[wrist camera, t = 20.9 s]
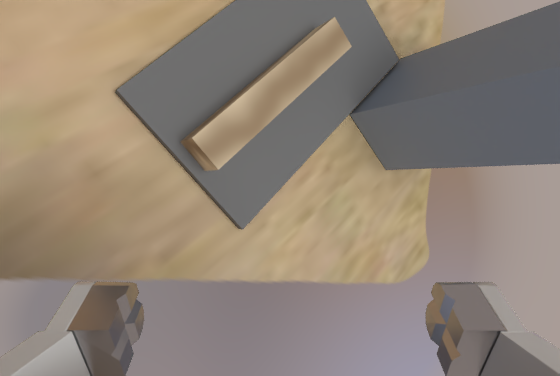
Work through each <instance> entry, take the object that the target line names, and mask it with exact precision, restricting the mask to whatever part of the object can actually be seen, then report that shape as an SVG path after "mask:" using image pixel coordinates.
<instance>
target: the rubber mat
mask: <svg viewBox="0 0 560 376" xmlns="http://www.w3.org/2000/svg"><path fill="white" fill-rule="evenodd" d="M333 17H335V18H336V20H337V22H338V23H339V25H340V27H341V29H342V30H343V32H344V34H345V35H346V37H347V39H348V41H349V42H350V44H351V46H352V47H351V48H350V49H349V50H348V51H347V52H346V53H344V54H343V55H342V56H341V57H340V58H339V59H338V60H337V61H336V62H335V63H334V64H333V65H331V66H330V67H329V68H328V69H327V70H326V71H325V72H324V73H323V74H322V75H321V76H320V77H318V78H317V79H316V80H315V81H314V82H313V83H312V84H311V85H310V86H309V87H308V88H307V89H305V90H304V91H303V92H302V93H301V94H300V95H299V96H298V97H297V98H296V99H295V100H294V101H292V102H291V103H290V104H289V105H288V106H287V107H286V108H285V109H284V110H283V111H282V112H281V113H280V114H278V115H277V116H276V117H275V118H274V119H273V120H272V121H271V122H270V123H269V124H268V125H267V126H265V127H264V128H263V129H262V130H261V131H260V132H259V133H258V134H257V135H256V136H255V137H254V138H252V139H251V140H250V141H249V142H248V143H247V144H246V145H245V146H244V147H243V148H242V149H241V150H239V151H238V152H237V153H236V154H235V155H234V156H233V157H232V158H231V159H230V160H229V161H228V162H226V163H225V164H224V165H223V166H222V167H221V168H220V169H219V170H211V171H204V169H203V168H202V167H201V166H200V165H199V163H198V162H197V161H196V160H195V159H194V158H193V156H192V155H191V154H190V153H189V152H188V150H187V149H186V148H185V147H184V146H183V145H182V143H181V141H182V140H183V139H184V138H185V137H187V136H188V135H189V134H190V133H191V132H192V131H194V130H195V129H196V128H197V127H198V126H200V125H201V124H202V123H203V122H204V121H206V120H207V119H208V118H209V117H210V116H211V115H213V114H214V113H215V112H216V111H217V110H219V109H220V108H221V107H222V106H223V105H225V104H226V103H227V102H228V101H229V100H231V99H232V98H233V97H234V96H235V95H236V94H238V93H239V92H240V91H241V90H242V89H244V88H245V87H246V86H247V85H248V84H250V83H251V82H252V81H253V80H254V79H255V78H257V77H258V76H259V75H260V74H261V73H263V72H264V71H265V70H266V69H267V68H269V67H270V66H271V65H272V64H273V63H274V62H276V61H277V60H278V59H279V58H280V57H282V56H283V55H284V54H285V53H286V52H288V51H289V50H290V49H291V48H292V47H293V46H295V45H296V44H297V43H298V42H299V41H301V40H302V39H303V38H304V37H305V36H307V35H308V34H309V33H310V32H311V31H312V30H314V29H315V28H317V27H318V26H320V25H322V24H323V23H325V22H327V21H328V20H330V19H332V18H333ZM398 60H399V58H398V56H397V55H396V53H395V51H394V49H393V48H392V46H391V44H390V42H389V40H388V39H387V37H386V35H385V33H384V32H383V30H382V28H381V26H380V24H379V23H378V21H377V19H376V17H375V15H374V14H373V12H372V10H371V8H370V7H369V5H368V3H367V1H366V0H235V1H234V2H233V3H231V4H230V5H229V6H227V7H226V8H225V9H223V10H222V11H221V12H219V13H218V14H217V15H215V16H214V17H213V18H211V19H210V20H209V21H207V22H206V23H205V24H203V25H202V26H201V27H199V28H198V29H197V30H195V31H194V32H193V33H191V34H190V35H189V36H187V37H186V38H185V39H183V40H182V41H181V42H179V43H178V44H177V45H175V46H174V47H173V48H171V49H170V50H169V51H168V52H166V53H165V54H164V55H162V56H161V57H160V58H158V59H157V60H156V61H154V62H153V63H152V64H150V65H149V66H148V67H146V68H145V69H144V70H142V71H141V72H140V73H138V74H137V75H136V76H134V77H133V78H132V79H130V80H129V81H128V82H126V83H125V84H124V85H122V86H121V87H120V88H118V89H117V90H116V92H115V93H116V94H117V95H118V96H119V97H120V98H121V99H122V100H123V101H124V103H125V104H126V105H127V106H128V107H129V108H130V109H131V110H132V111H133V112H134V114H135V115H136V116H137V117H138V118H139V119H140V120H141V121H142V122H143V124H144V125H145V126H146V127H147V128H148V129H149V130H150V131H151V132H152V133H153V135H154V136H155V137H156V138H157V139H158V140H159V141H160V142H161V143H162V144H163V146H164V147H165V148H166V149H167V150H168V151H169V152H170V153H171V154H172V156H173V157H174V158H175V159H176V160H177V161H178V162H179V163H180V164H181V165H182V167H183V168H184V169H185V170H186V171H187V172H188V173H189V174H190V175H191V176H192V178H193V179H194V180H195V181H196V182H197V183H198V184H199V185H200V186H201V187H202V189H203V190H204V191H205V192H206V193H207V194H208V195H209V196H210V197H211V199H212V200H213V201H214V202H215V203H216V204H217V205H218V206H219V207H220V208H221V210H222V211H223V212H224V213H225V214H226V215H227V216H228V217H229V218H230V219H231V221H232V222H233V223H234V224H235V225H236V226H237V227H238V228H239V229H244V228H245V226H246V225H247V224H248V223H249V222H250V221H251V220H252V219H253V218H254V217H255V216H256V215H257V213H258V212H259V211H260V210H261V209H262V208H263V207H264V206H265V205H266V204H267V203H268V202H269V200H270V199H271V198H272V197H273V196H274V195H275V194H276V193H277V192H278V191H279V190H280V189H281V187H282V186H283V185H284V184H285V183H286V182H287V181H288V180H289V179H290V178H291V177H292V175H293V174H294V173H295V172H296V171H297V170H298V169H299V168H300V167H301V166H302V165H303V164H304V162H305V161H306V160H307V159H308V158H309V157H310V156H311V155H312V154H313V153H314V152H315V151H316V149H317V148H318V147H319V146H320V145H321V144H322V143H323V142H324V141H325V140H326V139H327V138H328V136H329V135H330V134H331V133H332V132H333V131H334V130H335V129H336V128H337V127H338V126H339V124H340V123H341V122H342V121H343V120H344V119H345V118H346V117H347V116H348V115H349V114H350V113H351V111H352V110H353V109H354V108H355V107H356V106H357V105H358V104H359V103H360V102H361V101H362V100H363V98H364V97H365V96H366V95H367V94H368V93H369V92H370V91H371V90H372V89H373V88H374V87H375V85H376V84H377V83H378V82H379V81H380V80H381V79H382V78H383V77H384V76H385V75H386V73H387V72H388V71H389V70H390V69H391V68H392V67H393V66H394V65H395V64H396V63H397V62H398Z"/></svg>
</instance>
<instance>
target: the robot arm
mask: <svg viewBox="0 0 560 376" xmlns="http://www.w3.org/2000/svg"><path fill="white" fill-rule="evenodd" d="M138 294H139V292H138V288H137V285H136V284H135V283H130V282H77V283H76V284H75V285H73V287H72V288H71V290H70V291H69V293H68V295H67V296H66V298H65V299H64V301H63V303H62V304H61V306H60V307H59V309H58V310H57V312H56V313H55V315H54V317H53V318H52V320H51V321H50V323H49V324H48V326H47V328H46V329H45V331H38V332H37V333H35V334H34V335H32V336H31V337H29V338H28V339H27V340H25V341H24V342H22V343H21V344H19V345H18V346H16V347H15V348H13V349H12V350H10V351H9V352H7V353H6V354H4V355H3V356H1V357H0V376H126V373H127V370H128V368H129V365H130V362H131V360H132V357H133V350H132V345H133V344H134V343H135V342H136V341H137V340H138V339H139V338H140V335H141V332H142V329H143V322H144V310H143V306H142V304H141V303H140V302H139V301H138V300H136V298H137V296H138ZM431 294H432V296H433V298H434V300H432V301H431V302H430V303H429V304H428V305H427V309H426V326H427V330H428V333H429V336H430V338H431V340H432V341H434V342H435V343H436V344H437V345H438V346H439V348H438V352H437V356H438V358H439V361H440V363H441V366H442V368H443V371H444V373H445V376H560V349H559V348H557V347H556V346H554V345H553V344H552V343H550V342H549V341H547V340H546V339H544V338H542V337H541V336H539V335H538V334H537V333H535V332H528V331H527V329H526V328H525V327H524V325H523V324H522V322H521V321H520V319H519V318H518V316H517V315H516V313H515V312H514V310H513V309H512V307H511V306H510V304H509V303H508V301H507V300H506V299H505V297H504V295H503V294H502V293H501V291H500V290H499V288H498V287H497V285H496V284H494V283H493V282H473V283H472V282H448V283H447V282H445V283H444V282H441V283H435V285H434V286H433V288H432V291H431Z"/></svg>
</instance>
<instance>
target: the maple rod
mask: <svg viewBox="0 0 560 376" xmlns="http://www.w3.org/2000/svg"><path fill="white" fill-rule="evenodd" d="M351 47H352V46H351V44H350V42H349V41H348V39H347V37H346V35H345V34H344V32H343V30H342V29H341V27H340V25H339V23H338V22H337V20H336V18H335V17H333V18H332V19H330V20H328V21H327V22H325V23H323V24H322V25H320V26H318V27H317V28H315V29H314V30H312V31H311V32H310V33H309V34H308V35H307V36H305V37H304V38H303V39H302V40H301V41H299V42H298V43H297V44H296V45H295V46H293V47H292V48H291V49H290V50H289V51H288V52H286V53H285V54H284V55H283V56H282V57H280V58H279V59H278V60H277V61H276V62H274V63H273V64H272V65H271V66H270V67H269V68H267V69H266V70H265V71H264V72H263V73H261V74H260V75H259V76H258V77H257V78H255V79H254V80H253V81H252V82H251V83H250V84H248V85H247V86H246V87H245V88H244V89H242V90H241V91H240V92H239V93H238V94H236V95H235V96H234V97H233V98H232V99H231V100H229V101H228V102H227V103H226V104H225V105H223V106H222V107H221V108H220V109H219V110H217V111H216V112H215V113H214V114H213V115H211V116H210V117H209V118H208V119H207V120H206V121H204V122H203V123H202V124H201V125H200V126H198V127H197V128H196V129H195V130H194V131H192V132H191V133H190V134H189V135H188V136H187V137H185V138H184V139H183V140H182V141H181V143H182V145H183V146H184V147H185V148H186V149H187V150H188V152H189V153H190V154H191V155H192V156H193V158H194V159H195V160H196V161H197V162H198V163H199V165H200V166H201V167H202V168H203V169H204V171H211V170H219V169H220V168H221V167H222V166H223V165H224V164H225V163H226V162H228V161H229V160H230V159H231V158H232V157H233V156H234V155H235V154H236V153H237V152H238V151H239V150H241V149H242V148H243V147H244V146H245V145H246V144H247V143H248V142H249V141H250V140H251V139H252V138H254V137H255V136H256V135H257V134H258V133H259V132H260V131H261V130H262V129H263V128H264V127H265V126H267V125H268V124H269V123H270V122H271V121H272V120H273V119H274V118H275V117H276V116H277V115H278V114H280V113H281V112H282V111H283V110H284V109H285V108H286V107H287V106H288V105H289V104H290V103H291V102H292V101H294V100H295V99H296V98H297V97H298V96H299V95H300V94H301V93H302V92H303V91H304V90H305V89H307V88H308V87H309V86H310V85H311V84H312V83H313V82H314V81H315V80H316V79H317V78H318V77H320V76H321V75H322V74H323V73H324V72H325V71H326V70H327V69H328V68H329V67H330V66H331V65H333V64H334V63H335V62H336V61H337V60H338V59H339V58H340V57H341V56H342V55H343V54H344V53H346V52H347V51H348V50H349V49H350V48H351Z"/></svg>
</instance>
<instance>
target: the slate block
mask: <svg viewBox="0 0 560 376" xmlns="http://www.w3.org/2000/svg"><path fill="white" fill-rule="evenodd" d="M350 116H351V117H352V119H353V120H354V122H355V123H356V125H357V126H358V128H359V130H360V131H361V133H362V134H363V136H364V137H365V139H366V140H367V142H368V143H369V145H370V146H371V148H372V149H373V151H374V152H375V154H376V155H377V157H378V159H379V160H380V162H381V163H382V165H383V166H384V168H385V169H386V170H397V169H425V168H451V167H477V166H479V167H480V166H507V165H534V164H560V2H557V3H555V4H552V5H549V6H546V7H543V8H541V9H538V10H535V11H532V12H529V13H527V14H524V15H521V16H518V17H516V18H513V19H510V20H507V21H504V22H501V23H499V24H496V25H493V26H490V27H488V28H485V29H482V30H479V31H476V32H474V33H471V34H468V35H465V36H463V37H460V38H457V39H454V40H451V41H449V42H446V43H443V44H440V45H437V46H435V47H432V48H429V49H426V50H423V51H421V52H418V53H415V54H412V55H410V56H407V57H404V58H401V59H400V60H399V61H398V62H397V64H396V65H395V66H394V67H393V68H392V69H391V70H390V71H389V72H388V73H387V74H386V75H385V77H384V78H383V79H382V80H381V81H380V82H379V83H378V84H377V85H376V86H375V87H374V89H373V90H372V91H371V92H370V93H369V94H368V95H367V96H366V97H365V98H364V99H363V100H362V102H361V103H360V104H359V105H358V106H357V107H356V108H355V109H354V110H353V111H352V112H351V114H350Z"/></svg>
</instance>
